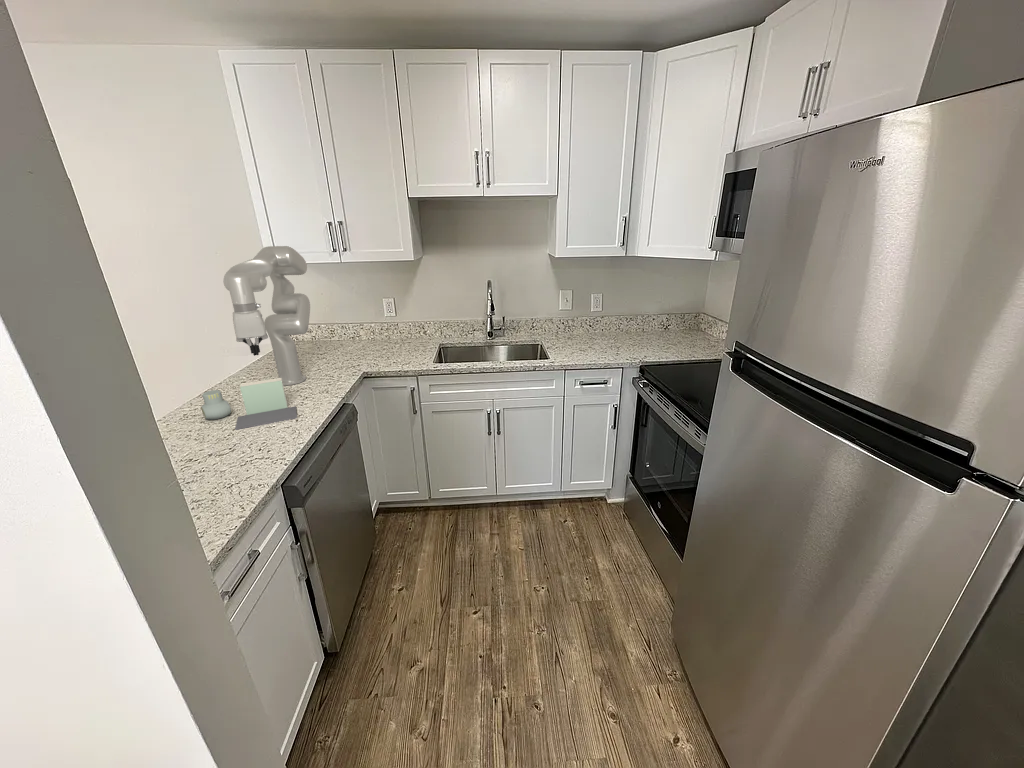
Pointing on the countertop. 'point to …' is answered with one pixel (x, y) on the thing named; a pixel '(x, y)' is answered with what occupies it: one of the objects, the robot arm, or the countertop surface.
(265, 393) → the tile
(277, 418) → the mat
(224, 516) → the countertop surface
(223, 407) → the air freshener
